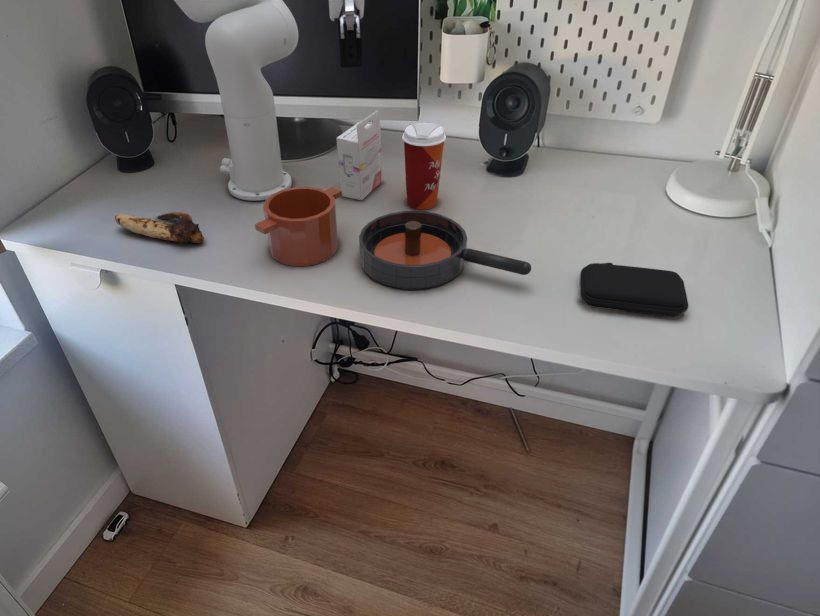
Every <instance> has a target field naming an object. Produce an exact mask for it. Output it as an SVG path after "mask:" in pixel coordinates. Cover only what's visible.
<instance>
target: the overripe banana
mask: <svg viewBox="0 0 820 616" xmlns="http://www.w3.org/2000/svg"><path fill="white" fill-rule="evenodd" d="M157 219H159V220H156V219H151V218H145V217H139V216H136V215H131V214H125V213H117V214H116V215H115V216H114V220H115V223H116V224H117V225H120V227H122V228H124V229H125V230H128V231H130V232H132V233H135V234H138V235H144V236H146V237H150V238H155V239H158V240H164V241H170V242H176V243H183V244H188V243H191V244H192V243H193V244H200V243H202V242H204V240H205V237H204V235H203V233H202V231H201V230H200V227H199V226H200V225H199V223H195V222H193V217H192V216H191V215H190V213H187V212H183V211H171V212H166V213H162V214H159V215H158V216H157ZM169 219H171V220H173V219H176V220H175V222H174V223H168V222H164V221H161V220H169Z"/></svg>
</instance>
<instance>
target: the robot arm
mask: <svg viewBox="0 0 820 616" xmlns="http://www.w3.org/2000/svg"><path fill="white" fill-rule="evenodd" d="M173 1H174V2H175V4H176V5H177V6H178V7H179V9H180V10H181V11H182V13H184V15H185V16H187V18H188V19H190V20H191V21H192V22H196V23H199V24H200V23H202V24H203V23H204V24H205V23H209V22H211V23H210V25H209V26H208V28H207V30H206V32H205V37H204V45H205V50H206V53H207V57H208V59H209V62H210V65H211V67H212V70H213V73H214V76H215V79H216V83H217V87H218V91H219V97H220V102H221V108H222V112H223V118H224V124H225V130H226V136H227V141H228V149H229V153H230V158H228V157H224V158H223V159H221V165H220V167H219V172H220V173H223V174H228V175H229V177H230V179H229V181H228V184H227V188H228V191H229V193H230V194H231V196H233V197H235V198H237V199H239V200H244V201H249V202H250V201H251V202H258V201H266V200H267V199H268V198H269V197H270V196H271V195H272V194H274V193H276V192H278V191H281V190H284V189H288V188H292V186H293V185H292V184H293V180H292V177H291V175H290V174H289V173H288V172H287V171H285V170H283V163H282V154H281V146H280V138H279V129H278V121H277V114H276V113H277V111H276V105H275V97H274V92H273V90H272V87H271V85H270V84H269V83H268V81H267V80H266V78H265V77H264V75H263V73H262V68H264V67H266V66H268V65H270V64H272V63H275V62H277V61H280V60H282V59H285V58H286V57H288V56H290V55H292V53H293V52H294V51H295V50H296V48H297V46H298V43H299V29H298V25H297V22H296V19H295V17H294V15H293V13H292V12H291V10H290V8H289V7H288V6H287V5H286V3H285V1H284V0H173ZM328 11H329V19H330V20H331V21H332V22H335V19H338V20H337V24H338V25H337V26H338V44H339V61H340V62H339V63H340V67H341V68H343V69H344V68H361V67H362V66H363V41H362V40H363V39H362V36H361V29H360V28H361V27H360V20H362V19H363V18H364V12H365V0H328Z"/></svg>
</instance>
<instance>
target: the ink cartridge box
mask: <svg viewBox="0 0 820 616" xmlns="http://www.w3.org/2000/svg"><path fill="white" fill-rule="evenodd" d="M381 136H382V133H381V120H380V111H379V110H378V109H377V110H375V111H374V112H373V113H371V114H370V115H368V116H367V117H365V118H364V119H363V120H361V121H358V122H357V123H355V124H354V125H352V126H351V127H350V128H348V129H347V130H345V131H344V132H342V133H341V134H340V135H339V136H336V138H335V139H336V149H337V165H338V177H339V179H338V180H339V190H341V191H342V196H341V197H344V198H348V199H353V200H357V201H362V200H364V199H365V198H366V197H367V196H368V195H369V194H370V193H371V192H372V191H374V190H376V188H377V187H378V186H379V185H380V184H381V183H382V137H381Z"/></svg>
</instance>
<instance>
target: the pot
mask: <svg viewBox="0 0 820 616" xmlns="http://www.w3.org/2000/svg"><path fill="white" fill-rule="evenodd" d="M341 197H343V196H342V191H341V190H340V188H336V187H335V186H330V187H329V188H326V189H323V188H320V187H315V186H294V187H290V188H288V189H284V190H281V191H278V192H276V193H274V194H272V195H271V196H270V197H269V198H268V199H267V200H264V203H263V216H264V219H263V220H261V221H259V222H256V223H254V229H255V230H256V231H257V232H259V233H261V234H263V235H266V236H267V241H268V242H267V243H268V250H269V251H270V255H271V257H272V258H273V259H274V260H276V261H277V263H281V264H283V265H286V266H292V267H309V266H314V265H319V264H321V263H324V262H326V261H328V260H330V259H331V258H333V256H334V255H335V254H336V252H337V250H338V248H339V246H338V245H339V241H338V224H337V222H338V221H337V210H336V209H337V207H336V200H338V199H339V198H341Z"/></svg>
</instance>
